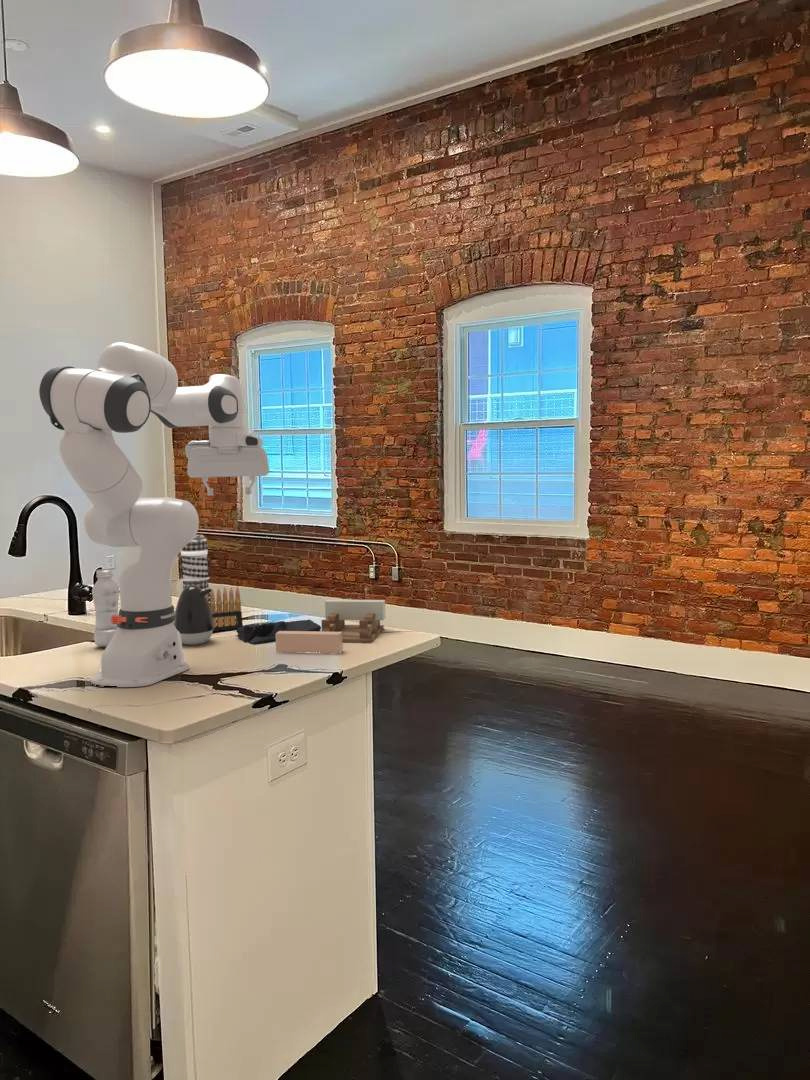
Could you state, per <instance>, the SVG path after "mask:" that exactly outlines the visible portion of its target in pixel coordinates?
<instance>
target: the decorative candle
mask: <svg viewBox="0 0 810 1080" xmlns="http://www.w3.org/2000/svg"><path fill="white" fill-rule="evenodd" d="M207 541H208V539H207V538H206V536H205V535H203V534H196V535H195V537H194V538H193V539H192V540H191V541H190V542H189V543H188V544H187V545H186V546H185V547H184V548H183V549H182V550H181V551H180V553H179V554H178V558H179V559H178V562H180V564H179V568H180V571H179V573H180V574H181V575H182V576H180V577H181V578H180V579H181V581H182V587H183V588H182V591H183V590H184V588H186V587H187V586H190V585H195V586H198V587H200V588H201V589H202V591H203V590H205V589H209V588H210V587H209V584H210V583H209V580H210V578H211V574H209V573H210V572H211V570H210V569H209V568H208V567H210V566H211V563H210V560H211V558H210V557H208V554H209V549H208V548H207V547H208V545H207ZM208 602H209V605H210V593H209V594H208Z"/></svg>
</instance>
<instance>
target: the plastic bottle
mask: <svg viewBox="0 0 810 1080" xmlns="http://www.w3.org/2000/svg"><path fill="white" fill-rule="evenodd" d="M95 573H96V576H95V577H96V578H97V580H96V582H95V583H94V585H93V586H92V589H91V594H92V600H93V604H94V611H95V628H94V634H93V640H94V644H95V645H96V646H97V647H99V648H106V647H107V646H108V644H109V642H110V641H111V639H112V637H113V636H114V634H115V632H116V631H117V628H118V626H117V624H112V623H111V620H112V619H111V618H112V617H111V616H112V615H117V616H118V614H119V611H118V610H119V600H120V598H119V597H120V586H119V585H118V584H117V582H115V580H114V579H113V577H114V576H113V575H114V574H113V570H112V569H111V568H102V569H99V568H98V569H96V572H95Z"/></svg>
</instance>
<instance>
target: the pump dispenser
mask: <svg viewBox="0 0 810 1080" xmlns="http://www.w3.org/2000/svg"><path fill="white" fill-rule="evenodd" d="M211 589H212V588H210V587H209V589H206V590H203V591H202V589H201V588H200V587H198V586H195V585H190V586H187V587H186V588H184V590H183V589H182V591H181V593H180V595H179V597H178V600H177V604H176V606H175V609H174V611H175V621H174V622H173V623H174V625H175V627H176V629H177V630H178V631H179V632H180V635H181V642H182V645H186V646H198V644H199V645H202V644H206V643H207V642H208V641H209V640H210V639H211V638H212V636H213V629H214V620H213V615H212V611H211V608H210V605H209V603H210V602H208V600H207V597H206V595H207V594H209V593H210V592H212V590H211Z"/></svg>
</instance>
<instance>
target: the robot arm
mask: <svg viewBox="0 0 810 1080" xmlns="http://www.w3.org/2000/svg"><path fill="white" fill-rule="evenodd" d="M38 388H39V389H38V394H39V395H38V396H39V399H40V402H41V406H42V408H43V409H44V411H45V413H46V415H47V416H49V420H50V423H51V425H52V426H53V427H55V428H56V429H58V430H61V431H64V435H63V436H62V438H61V439H60V443H59V454H60V458H61V459H62V461H63V463H64V465H65V468H66V469H67V471H68V473H69V474H70V475H71V477H72V479H73V480H74V482H75V483H76V484H77V486H78V487H79V488H80V489H81V490H82V492H83V493H84V494H85V495H86V497H87V498H88V500H89V501H90V502H91V505H89V507H88V508H87V510H86V512H85V515H84V523H83V524H84V530H85V532H86V534H87V537H88V538H89V539H90V540H91V541H92V542H93V543H95V544H99V545H103V546H109V547H114V548H127V547H128V548H134V547H135V548H136V547H137V548H139V547H140V554H139V558H138V560H137V561H136V562H134V563H132V564H130V565H128V566H126V568H124V569H123V571H122V572H121V573H120V576H119V579H118V581H119V582H118V583H119V585H118V587H119V597H120V598H119V600H120V609H118V610H119V611H118V616H117V615H112V616H111V617H112V618H111V619H112V620H111V623H112V624H117V626H118V628H117V631H116V632H115V634H114V636H113V637H112V639H111V641H110V642H109V644H108V646H107V647H105V649H104V650H103V651H102V654H101V659H100V670H101V671H100V672H98V673H97V674H96V675H94V676H93V677H91V678H90V679H89V683H90V682H92V683H95V684H100V685H109V686H117V687H116V688H136V687H147V686H150V685H153V684H156V683H158V682H161V681H163V680H165V679H168V678H170V677H173V676H175V675H178V674H180V673H183V672H185V671H187V670H190V664H189V663H188V662H185V658H184V651H183V643H182V642H181V635H180V632H179V631H178V630H177V629H176V627H175V625H174V621H175V606H174V604H173V602H172V601H173V600H172V599H173V598H172V596H173V595H172V577H173V575H172V574H173V570H174V569H173V568H174V565H175V563H176V561H177V558H178V557H179V554H181V550H182V549H183V548H184V547H185V546H186V545H187V544H188V543H189V542H190V541H191V540H192V539H193V538H194V537H195V535H197V533H198V530H199V526H200V520H199V515H198V514H199V513H198V512H197V510H196V508H195V506H194V505H193V504H192V503H191V502H190V501H188V500H184V499H179V498H175V497H167V496H166V497H163V496H162V497H161V496H160V497H141V495H142V493H143V479H142V477H141V475H140V474H139V473H138V471H137V469H136V468H135V466H134V465H133V464H132V462H131V460H129V458H128V456H127V455H126V454H125V452H124V451H123V450H122V448H121V447H120V446H119V445H118V444H117V443H116V441H115V439H114V435H113V432H115V433H119V434H121V433H123V434H127V433H134V432H138V431H140V429H141V428H142V427H143V426H144V425H145V424H146V423H147V421H148V419H149V418H150V415H151V413H152V414H154V415H155V416H156V417H157V418H158V419H159V420H160V422H161V423H162V424H163V425H164V426H166V427H168V428H169V429H179V428H185V427H204V426H208V438H209V439H208V440H191V441H190V442H188V443H187V444H186V445H185V448H184V453H185V455H184V456H186V459H188V461H187V476H188V477H189V478H190V479H191V478H202V483H203V485H204V486H205V488H206V489H207V491H206V493H207V496H211V497H212V496H214V494H215V493H214V488H213V487H210V486H209V485H208V483H207V482H209V478H221V477H222V478H227V477H228V478H229V477H248V481H250V483H249V485H248V487H247V486H246V487H244V490H245V493H244V494H245V495H252V488H253V486H254V484H255V482H256V477H262V476H264V477H266V476H268V474H270V467H269V460H268V456H267V451H266V450H265V449H264V448H263V442H264V441H263V439H262V438H261V437H258V436H256V435H253V434H248V433H246V432H245V430H246V429H245V424H244V421H243V416H244V412H245V411H244V409H245V408H244V407H245V406H244V396H243V390H242V384H241V381H240V379H239V378H238V377H236V376H234V375H232V374H227V373H216V374H212V375H210V376H209V378H208V382H207V383H205V384H203V385H193V386H192V385H191V386H189V385H188V386H179V377H178V372H177V369H176V368H175V366H174V365H173V364H172V362H170V361H169V360H168V359H167V358H165V357H164V356H162V355H161V354H158V353H157V352H154V351H153V350H150V349H148V348H145V347H143V346H140V345H136V344H133V343H128V342H122V341H121V342H120V341H117V342H113V343H111V344H109V345H107V346H106V347H105V348H103V350H102V351H101V353H100V354H99V357H98V361H97V369H90V368H77V367H74V366H69V365H68V366H65V365H64V366H58V367H54V368H51V369H49V370H48V371H46V372H45V373H44V375H43V377H42V379H41V380H40V384H39V387H38Z"/></svg>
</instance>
